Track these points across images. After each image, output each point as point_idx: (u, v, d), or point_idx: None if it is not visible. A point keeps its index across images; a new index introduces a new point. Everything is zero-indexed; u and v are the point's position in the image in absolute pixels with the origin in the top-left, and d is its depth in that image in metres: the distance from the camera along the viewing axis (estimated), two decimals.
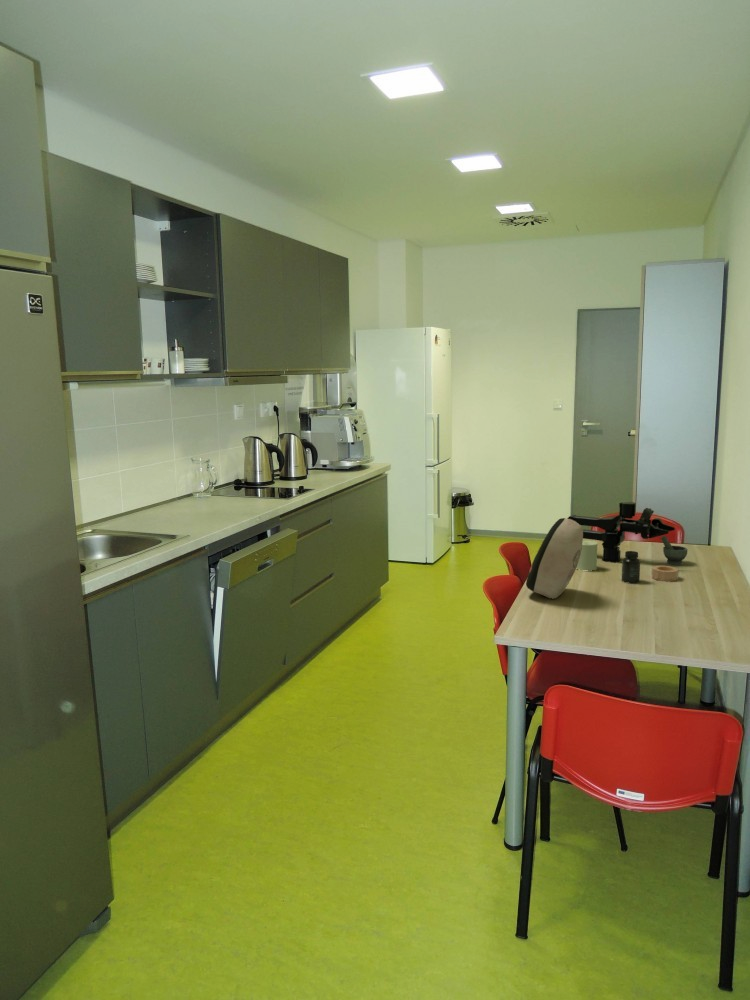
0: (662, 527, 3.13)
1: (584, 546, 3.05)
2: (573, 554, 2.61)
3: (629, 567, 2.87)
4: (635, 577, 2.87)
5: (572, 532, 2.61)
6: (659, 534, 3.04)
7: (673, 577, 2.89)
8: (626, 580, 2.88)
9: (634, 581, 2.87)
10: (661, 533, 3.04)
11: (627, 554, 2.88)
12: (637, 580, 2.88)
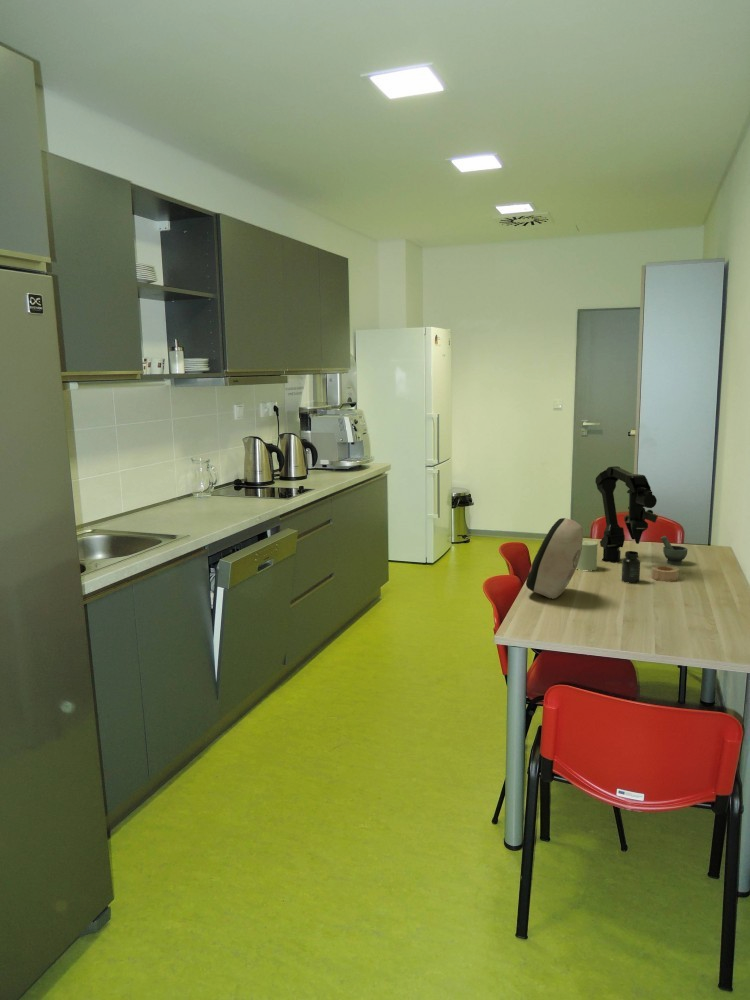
0: None
1: (584, 546, 3.05)
2: (573, 554, 2.61)
3: (629, 567, 2.87)
4: (635, 577, 2.87)
5: (572, 532, 2.61)
6: (635, 536, 2.98)
7: (673, 577, 2.89)
8: (626, 580, 2.88)
9: (634, 581, 2.87)
10: (636, 538, 2.98)
11: (627, 554, 2.88)
12: (637, 580, 2.88)
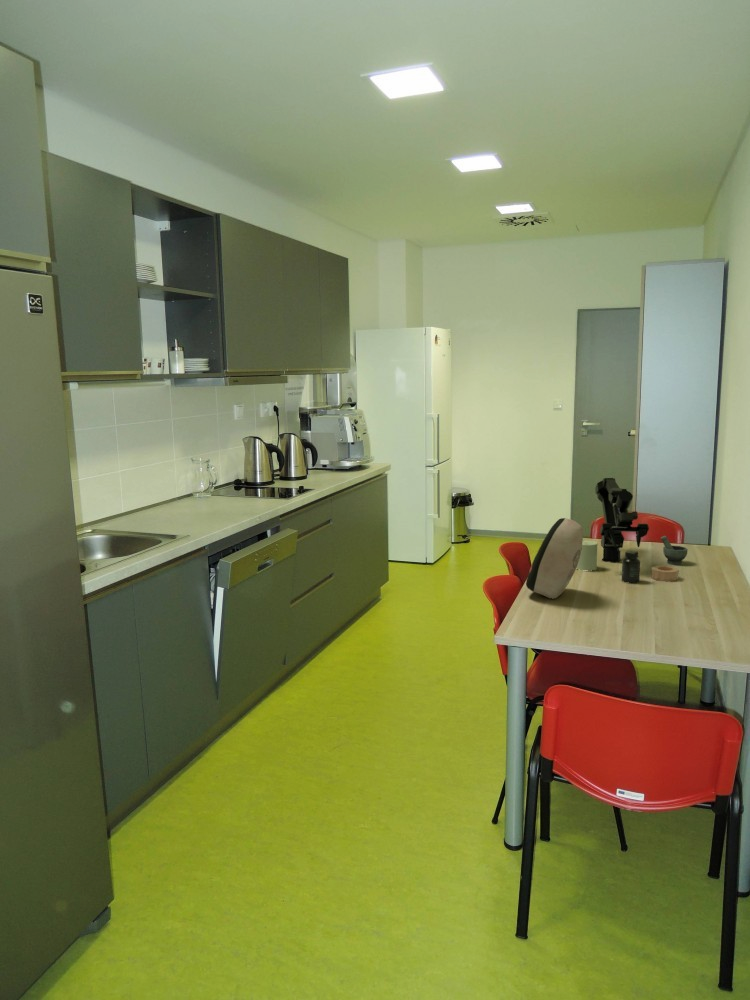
0: (637, 536, 2.98)
1: (584, 546, 3.05)
2: (573, 554, 2.61)
3: (629, 567, 2.87)
4: (635, 577, 2.87)
5: (572, 532, 2.61)
6: (611, 541, 2.99)
7: (673, 577, 2.89)
8: (626, 580, 2.88)
9: (634, 581, 2.87)
10: (612, 542, 2.98)
11: (627, 554, 2.88)
12: (637, 580, 2.88)
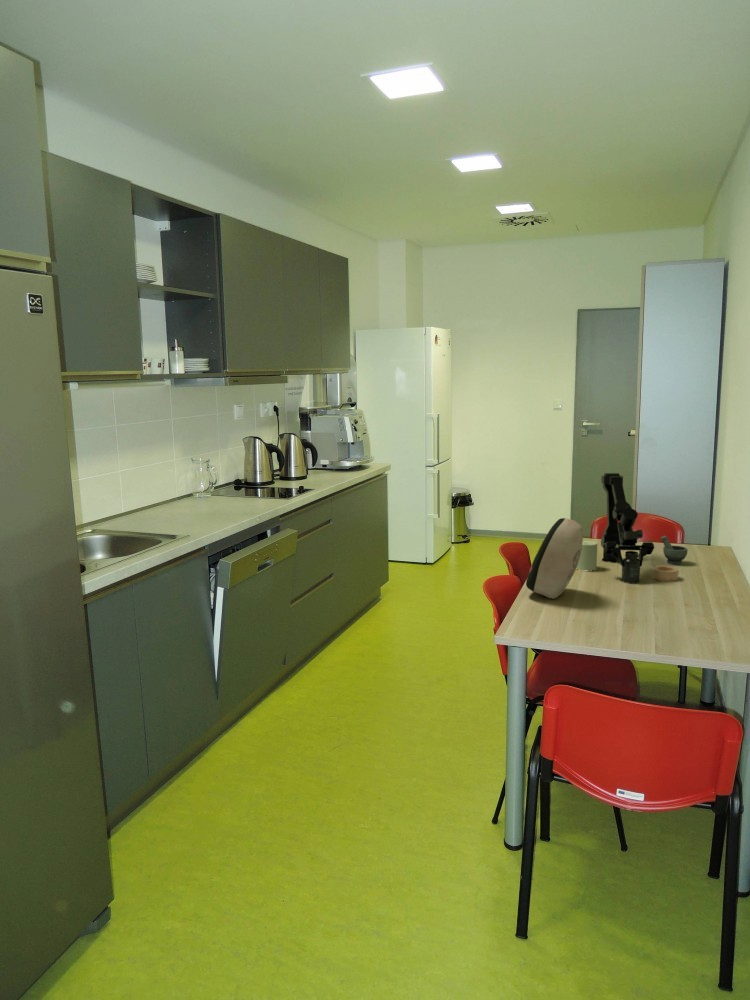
0: (639, 555, 2.91)
1: (584, 546, 3.05)
2: (573, 554, 2.61)
3: (629, 567, 2.87)
4: (635, 577, 2.87)
5: (572, 532, 2.61)
6: (618, 560, 2.91)
7: (673, 577, 2.89)
8: (626, 580, 2.88)
9: (634, 581, 2.87)
10: (619, 561, 2.91)
11: (627, 554, 2.88)
12: (637, 580, 2.88)
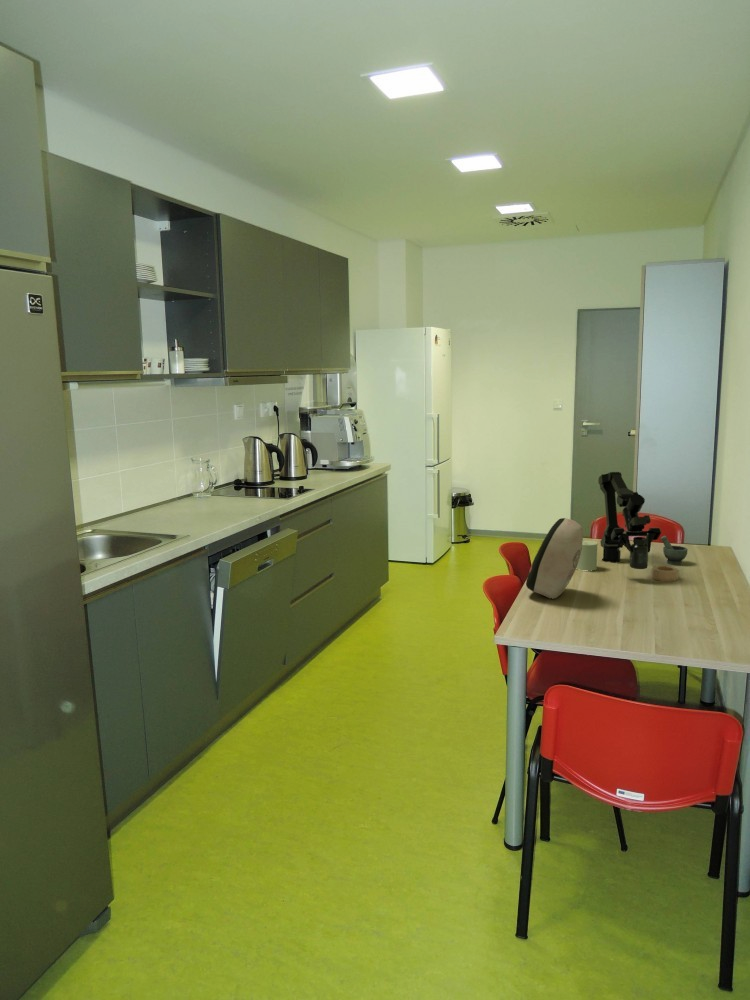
0: (647, 540, 2.90)
1: (584, 546, 3.05)
2: (573, 554, 2.61)
3: (638, 552, 2.86)
4: (644, 562, 2.86)
5: (572, 532, 2.61)
6: (626, 546, 2.90)
7: (673, 577, 2.89)
8: (635, 566, 2.87)
9: (643, 567, 2.87)
10: (627, 547, 2.90)
11: (636, 540, 2.87)
12: (646, 566, 2.87)
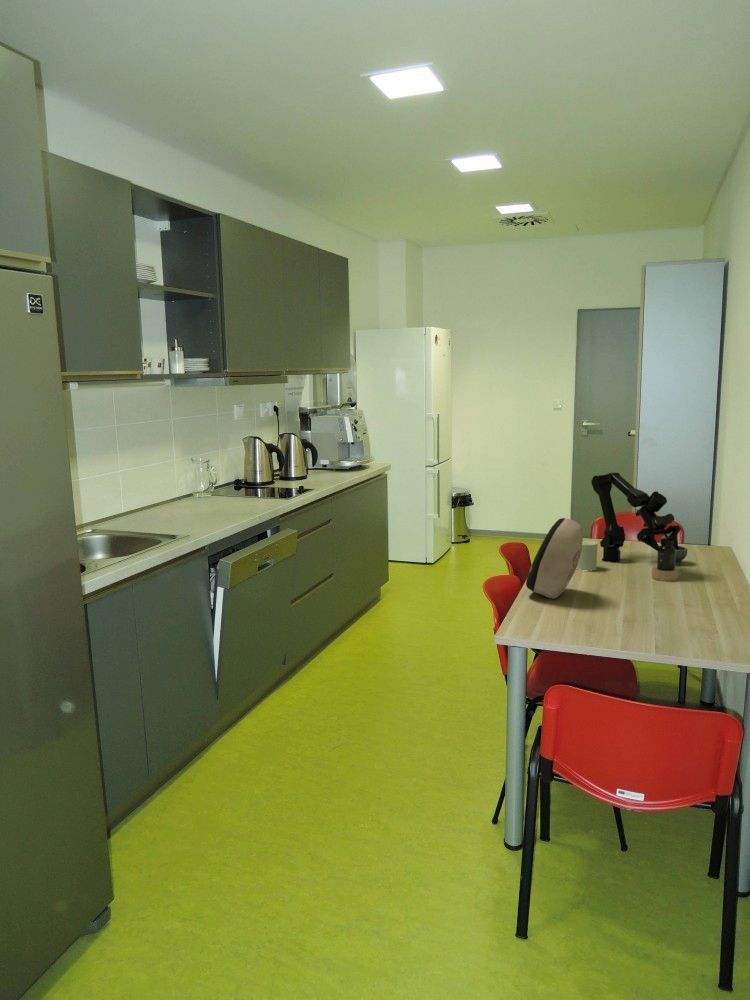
0: (671, 538, 2.95)
1: (584, 546, 3.05)
2: (573, 554, 2.61)
3: (669, 554, 2.89)
4: (673, 563, 2.91)
5: (572, 532, 2.61)
6: (652, 546, 2.91)
7: (673, 577, 2.89)
8: (666, 568, 2.90)
9: (673, 568, 2.91)
10: (654, 547, 2.91)
11: (665, 542, 2.90)
12: (674, 566, 2.92)
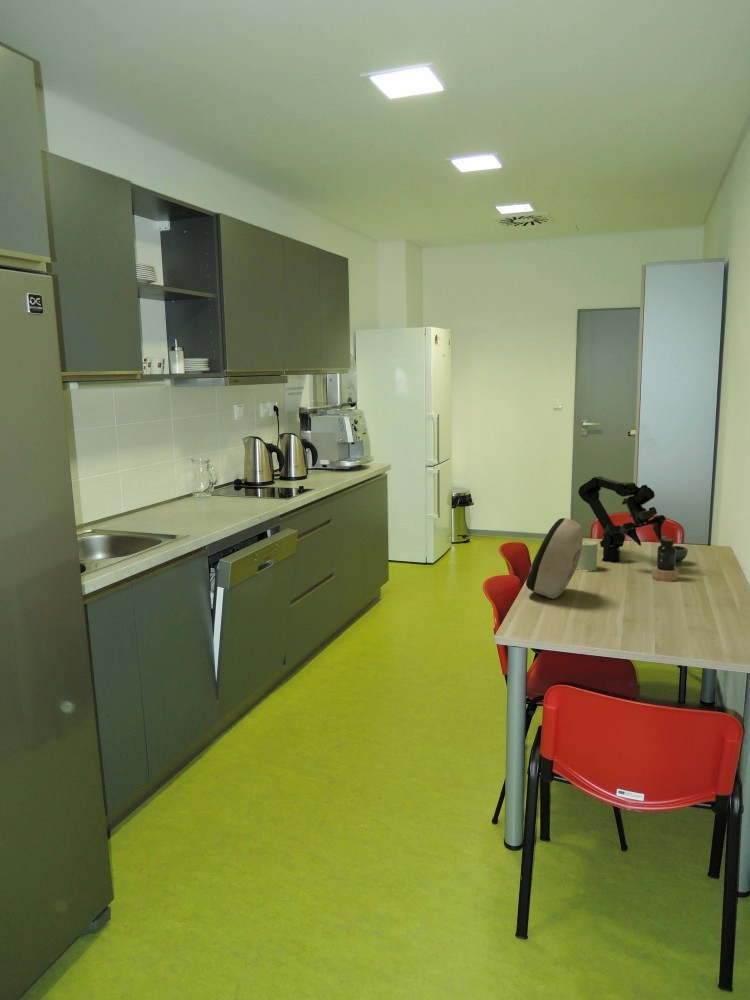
0: (656, 529, 3.04)
1: (584, 546, 3.05)
2: (573, 554, 2.61)
3: (669, 554, 2.89)
4: (673, 563, 2.91)
5: (572, 532, 2.61)
6: (634, 539, 3.03)
7: (673, 577, 2.89)
8: (666, 568, 2.90)
9: (673, 568, 2.91)
10: (635, 540, 3.02)
11: (665, 542, 2.90)
12: (674, 566, 2.92)
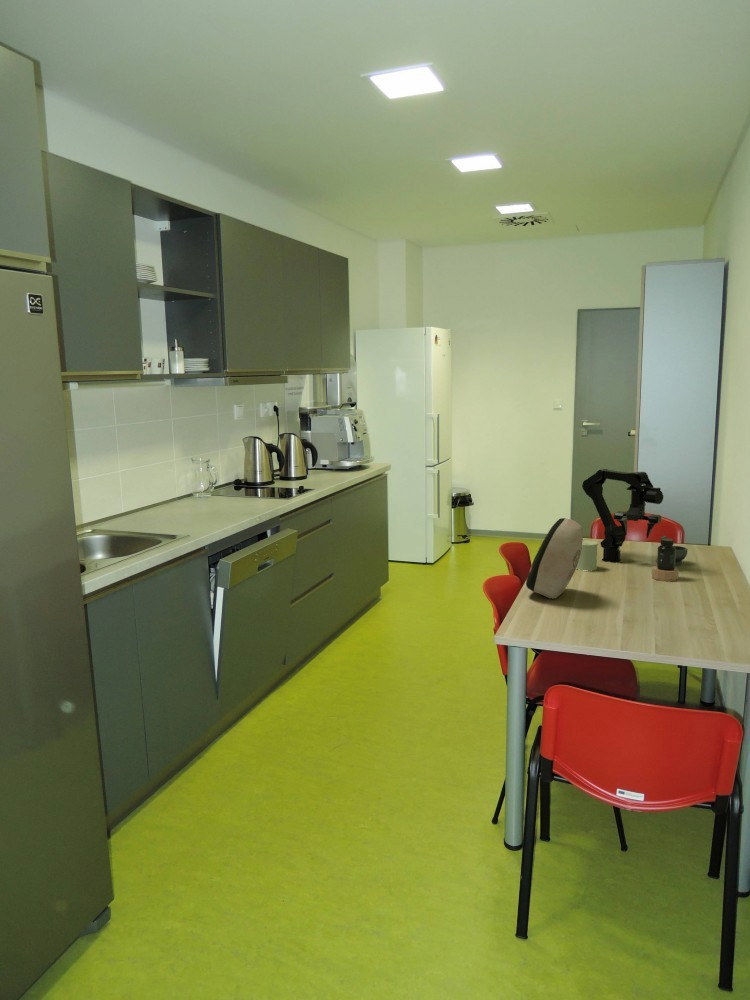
0: None
1: (584, 546, 3.05)
2: (573, 554, 2.61)
3: (669, 554, 2.89)
4: (673, 563, 2.91)
5: (572, 532, 2.61)
6: None
7: (673, 577, 2.89)
8: (666, 568, 2.90)
9: (673, 568, 2.91)
10: None
11: (665, 542, 2.90)
12: (674, 566, 2.92)
